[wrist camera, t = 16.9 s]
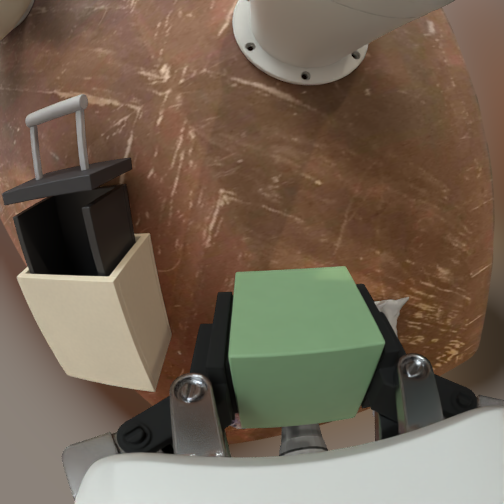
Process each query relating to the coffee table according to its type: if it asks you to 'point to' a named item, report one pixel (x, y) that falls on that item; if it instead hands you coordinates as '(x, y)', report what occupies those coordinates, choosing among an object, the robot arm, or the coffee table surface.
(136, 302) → the cream drawer box
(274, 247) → the coffee table surface
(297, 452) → the beverage cup
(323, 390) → the block
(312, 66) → the robot arm
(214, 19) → the coffee table surface
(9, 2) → the bowl
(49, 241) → the dark grey drawer
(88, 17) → the coffee table surface
